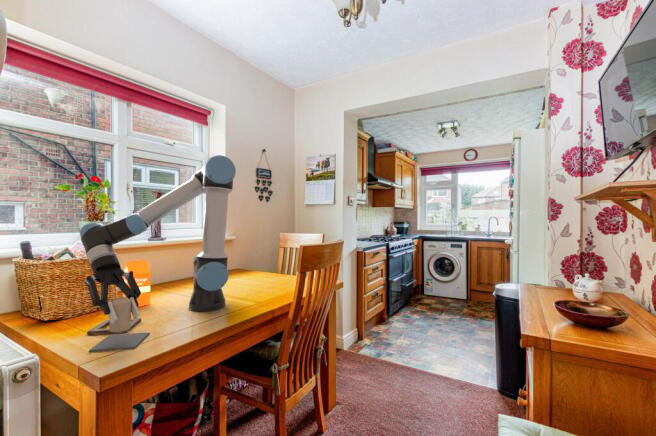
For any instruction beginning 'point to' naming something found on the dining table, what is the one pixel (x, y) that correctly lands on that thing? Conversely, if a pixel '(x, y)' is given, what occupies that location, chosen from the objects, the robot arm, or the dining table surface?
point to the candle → (121, 314)
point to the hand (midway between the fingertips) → (126, 319)
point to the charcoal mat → (120, 342)
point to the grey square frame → (100, 330)
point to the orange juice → (140, 279)
